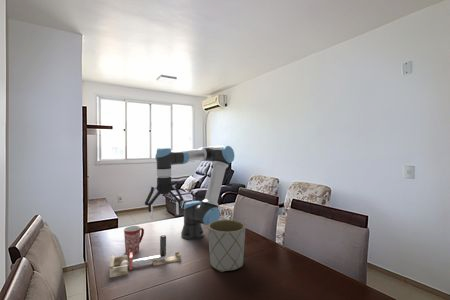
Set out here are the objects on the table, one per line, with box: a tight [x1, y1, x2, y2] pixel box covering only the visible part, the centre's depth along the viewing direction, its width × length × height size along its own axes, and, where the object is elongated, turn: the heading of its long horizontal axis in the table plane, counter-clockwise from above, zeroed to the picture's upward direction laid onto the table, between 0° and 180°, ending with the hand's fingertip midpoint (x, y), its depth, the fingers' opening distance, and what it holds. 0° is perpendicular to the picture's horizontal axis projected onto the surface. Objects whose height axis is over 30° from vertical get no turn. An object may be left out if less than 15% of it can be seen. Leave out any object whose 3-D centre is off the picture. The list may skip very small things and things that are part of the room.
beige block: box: [109, 254, 128, 278], centre depth 112 cm, size 8×12×5 cm, turn 23°
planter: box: [207, 219, 246, 273], centre depth 118 cm, size 19×19×20 cm
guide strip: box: [151, 251, 182, 266], centre depth 121 cm, size 14×4×3 cm, turn 113°
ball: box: [119, 259, 130, 269], centre depth 113 cm, size 4×4×4 cm
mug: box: [123, 225, 145, 255], centre depth 134 cm, size 13×9×14 cm
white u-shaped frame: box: [129, 235, 167, 271], centre depth 118 cm, size 18×6×13 cm, turn 113°
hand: (164, 216), depth 124 cm, fingers open, 13 cm apart
